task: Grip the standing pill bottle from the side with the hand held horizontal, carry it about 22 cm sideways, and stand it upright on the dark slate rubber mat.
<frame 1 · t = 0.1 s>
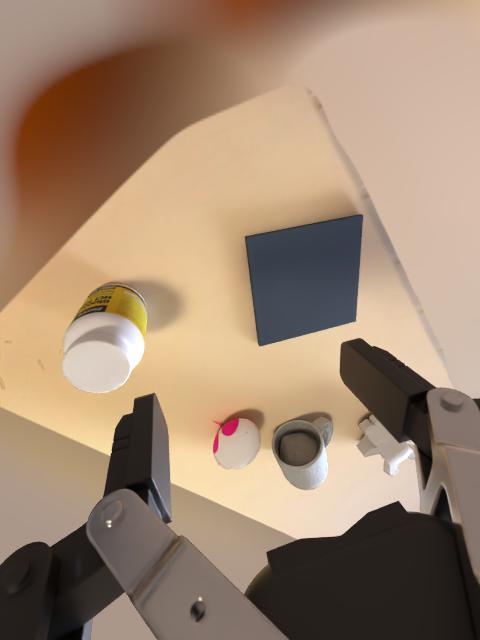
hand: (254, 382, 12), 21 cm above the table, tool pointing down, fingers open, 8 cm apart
mat: (305, 283, 35), on the table
ceramic mug: (298, 431, 47), on the table
stress ball: (228, 425, 42), on the table
bunny figurine: (378, 431, 53), on the table
pill bottle: (117, 308, 30), on the table
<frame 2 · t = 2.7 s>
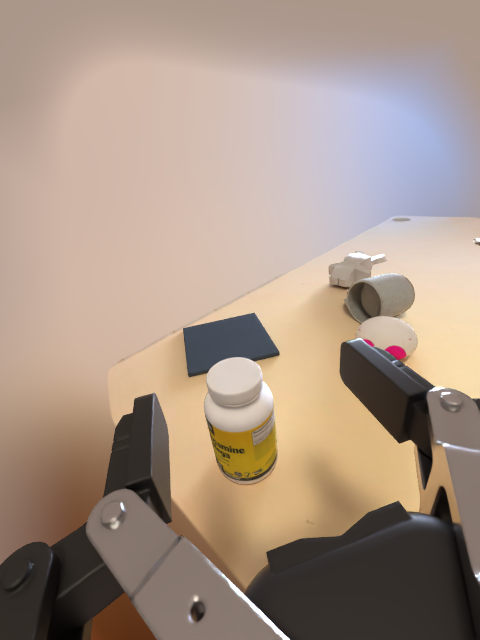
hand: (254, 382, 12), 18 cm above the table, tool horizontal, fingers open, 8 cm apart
mat: (226, 341, 48), on the table
ceramic mug: (370, 315, 50), on the table
stress ball: (381, 358, 40), on the table
bunny figurine: (354, 279, 65), on the table
pill bottle: (247, 458, 29), on the table
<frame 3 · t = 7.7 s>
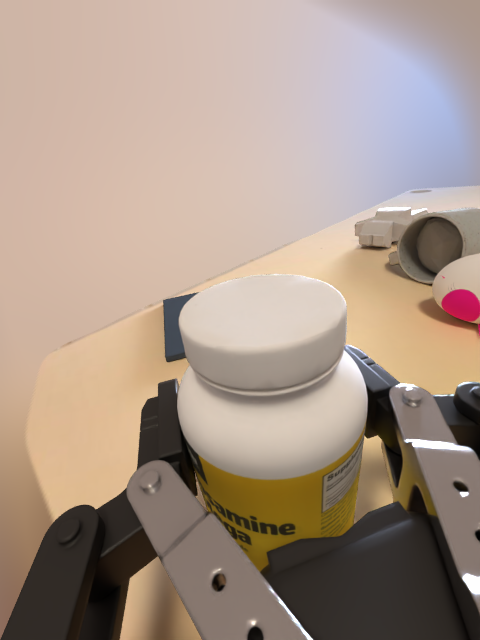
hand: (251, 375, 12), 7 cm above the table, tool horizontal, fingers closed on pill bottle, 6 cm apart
mat: (225, 313, 33), on the table
ceramic mug: (429, 274, 35), on the table
stress ball: (477, 323, 25), on the table
bunny figurine: (388, 240, 50), on the table
pill bottle: (281, 516, 13), on the table, touching gripper
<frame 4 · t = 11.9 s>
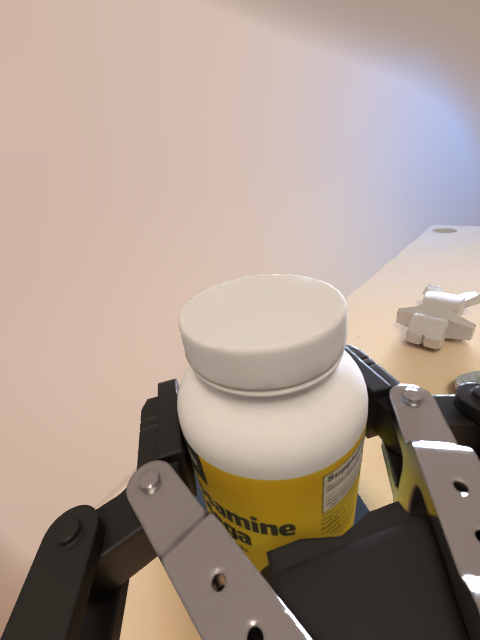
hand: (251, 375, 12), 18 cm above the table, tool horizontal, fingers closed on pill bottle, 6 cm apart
mat: (265, 483, 26), on the table
bunny figurine: (435, 329, 44), on the table
pill bottle: (281, 516, 13), point 11 cm above the table, touching gripper
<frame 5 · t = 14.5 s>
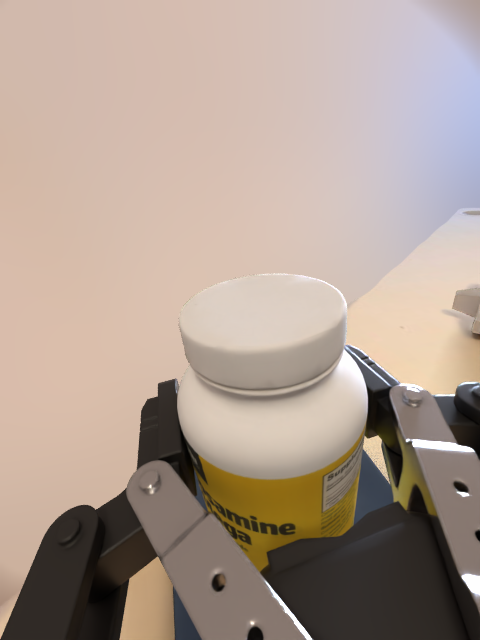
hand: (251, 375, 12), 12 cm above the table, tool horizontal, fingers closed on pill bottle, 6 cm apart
mat: (299, 554, 16), on the table
pill bottle: (281, 516, 13), point 5 cm above the table, touching gripper
when the fingers open (7 cm above the table, at t = 16.3 s): pill bottle stays where it is, resting on mat.
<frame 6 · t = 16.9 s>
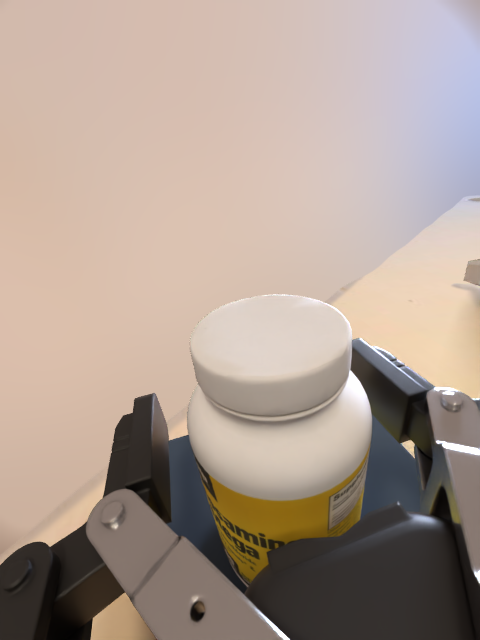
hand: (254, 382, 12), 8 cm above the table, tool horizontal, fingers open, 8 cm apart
mat: (303, 522, 14), on the table
pill bottle: (287, 526, 14), resting on mat
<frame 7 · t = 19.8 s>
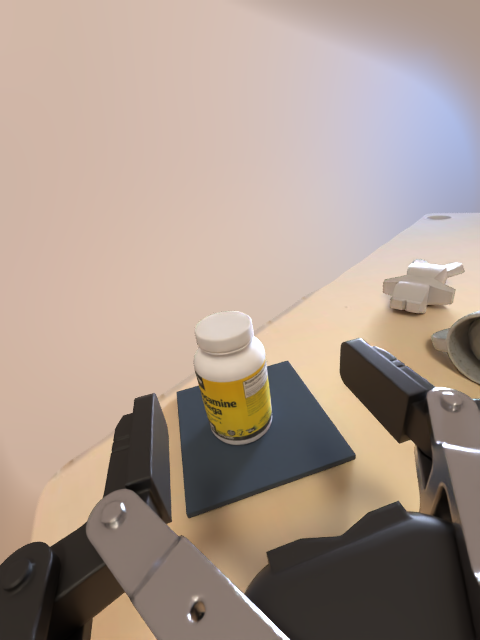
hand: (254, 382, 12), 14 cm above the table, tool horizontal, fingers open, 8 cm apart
mat: (250, 421, 28), on the table
bunny figurine: (419, 298, 46), on the table
pill bottle: (242, 422, 28), resting on mat
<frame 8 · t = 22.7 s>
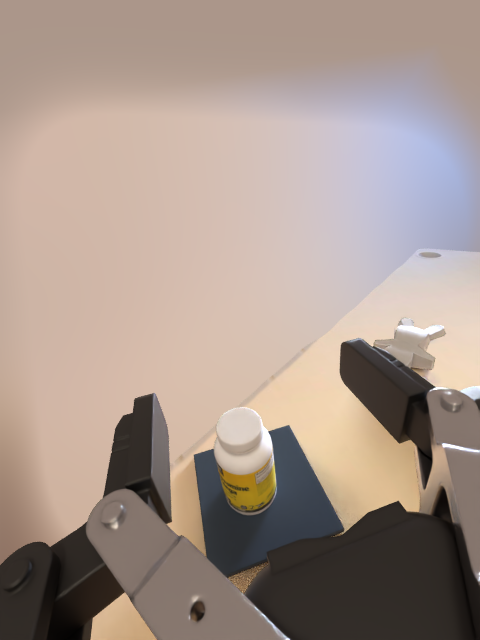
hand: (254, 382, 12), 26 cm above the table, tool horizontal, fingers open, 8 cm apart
mat: (258, 489, 34), on the table
bunny figurine: (406, 357, 51), on the table
pill bottle: (251, 490, 33), resting on mat
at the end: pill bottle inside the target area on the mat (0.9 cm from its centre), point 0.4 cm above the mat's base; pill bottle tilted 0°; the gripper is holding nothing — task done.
